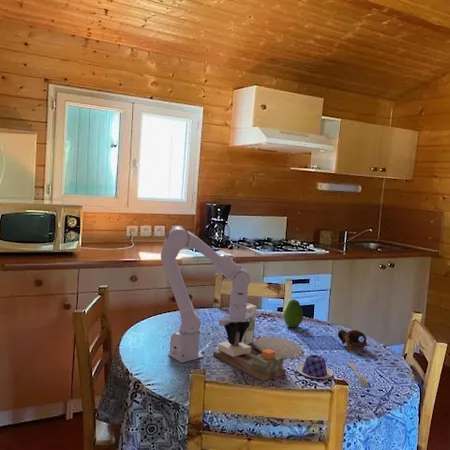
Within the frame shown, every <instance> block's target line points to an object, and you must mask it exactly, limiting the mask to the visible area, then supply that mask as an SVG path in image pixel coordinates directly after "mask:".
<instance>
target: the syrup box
mask: <svg viewBox="0 0 450 450" xmlns="http://www.w3.org/2000/svg"><path fill="white" fill-rule="evenodd" d="M257 307H258V306H256V305H254V304H252V303H249V302H247V306H246V313H251V314H254V320H247V322H249V323H250V325H249V327H248V328H247V330H246V331H245V333H244V336H243V339H242V343H244V344H246V345H251V344H253V343H254V338H255V337H254V336H255V326H256V315H257Z"/></svg>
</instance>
